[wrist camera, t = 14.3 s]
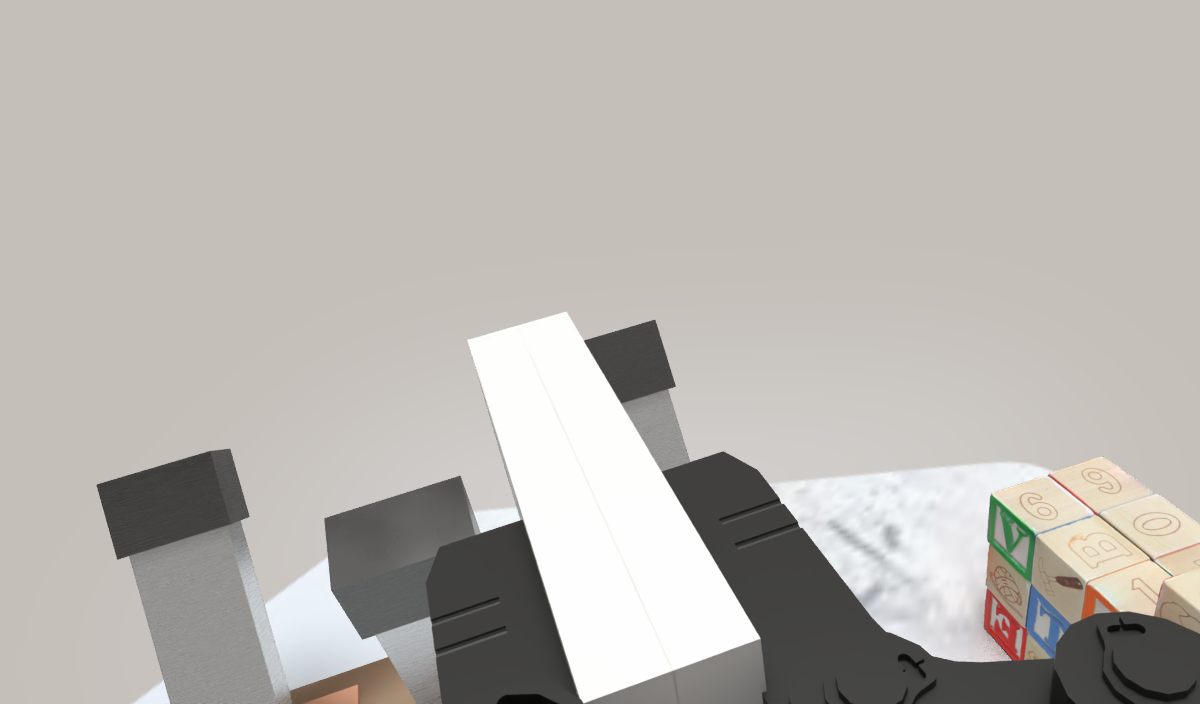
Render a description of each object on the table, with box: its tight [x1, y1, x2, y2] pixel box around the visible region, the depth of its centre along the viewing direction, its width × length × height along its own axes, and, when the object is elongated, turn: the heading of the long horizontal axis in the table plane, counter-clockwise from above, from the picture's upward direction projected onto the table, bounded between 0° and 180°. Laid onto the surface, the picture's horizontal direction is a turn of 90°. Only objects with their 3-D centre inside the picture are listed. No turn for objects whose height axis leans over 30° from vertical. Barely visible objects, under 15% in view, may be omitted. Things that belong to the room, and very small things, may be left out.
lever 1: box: [97, 449, 293, 704], centre depth 36 cm, size 3×5×14 cm
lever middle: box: [325, 476, 480, 704], centre depth 32 cm, size 3×5×14 cm, turn 106°
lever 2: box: [584, 320, 690, 472], centre depth 39 cm, size 3×5×14 cm
